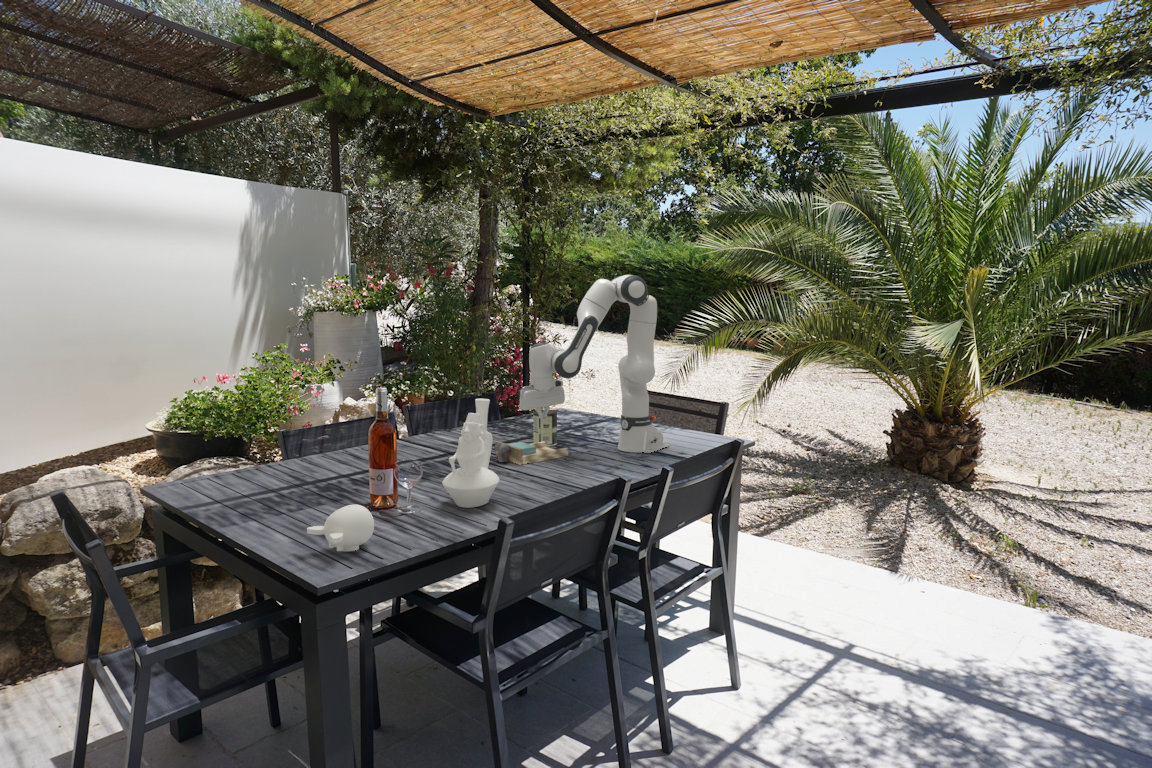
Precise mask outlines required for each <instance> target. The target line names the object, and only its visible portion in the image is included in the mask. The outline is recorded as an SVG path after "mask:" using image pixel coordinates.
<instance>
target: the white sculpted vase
mask: <svg viewBox="0 0 1152 768" xmlns="http://www.w3.org/2000/svg"><path fill="white" fill-rule="evenodd" d="M474 400H475V401H474V402H475V403H474V404H475V413H474V412H467V413H468V414H467V416H466V419H465V422H463V424H462V425H463V426H462V429H461V430H460V434H461V436H460V437H459V438H458V441H457V443H458V444H457V449H456V451H455V453H454V455H453V456H450V457H449V458H448V462H449V464H450V466H451V470H452V471H451V472H450V473H449V474H447V476H446V477H444V479H443V480H442V482H441V484H442V485H443V487H444V488H445V490H446V492H448V494H449V496H450V497H451V498H452V500H453V502H454V503H455V505H456V507H457V506H458V507H460V508H466V509H468V508H469V509H471V508H477V507H482V506H485V505H486V504H488V503H489V501H490V498H491V497H492V494H493V493H494V492H495V491H494V490H496V487H497V486H498V484H499V483H500V477H499V476H498V475H497V473H495V472H494V471H493V470H490V469H489V466H490V465H489V464H490V459H491V454H492V447H493V434H492V433H491V432H490V431H488V430H487V429H488V418H489V417H488V416H489V415H488V414H489V407H490V406H489V405H490V403H491V400H490V399H489V398H482V397H481V398H475V399H474ZM456 461H457V464H459V467H458V468H456V465H455V462H456Z"/></svg>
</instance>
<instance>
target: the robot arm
mask: <svg viewBox="0 0 1152 768" xmlns="http://www.w3.org/2000/svg"><path fill="white" fill-rule="evenodd" d="M615 302H620V303H625V304H626V303H627V304H628V306H629V309H630V311H629V312H630V313H629V320H628V325H627V334H626V343H627V354H625V355H624V356H623V357H621V358H620V359H619V362H618V363H617V365H618V366H617V367H618V372H619V382H620V389H621V415H620V433H619V434H620V435H619V440H618V444H617V449H618V450H619V451H622V452H627V453H642V452H644V453H647V454H651V452H652V453H655V452H658V451H661V450H663V449H662V448H664V449H666V448H665V447H667V448H669V447H670V444H669V443H666V442H665V441H664V435H663V432H662V431H661V430H660V429H658V427H656V426H655V425H654V424H653V423H652V421H654V422H656V420H657V416H656V415H650V414H649V413H650V410H649V409H650V395H649V391H648V387H647V384H648V383H650V382H652V381H653V379H654V377H655V374H656V368H655V355H654V353H655V352H654V343H655V336H656V335H655V334H656V326H657V318H658V301H657V299H656V297H654V296H653V295H650V292H649V290H648V285H647V282H646V281H645V280H644V279H643V278H642V277H641V276H639V275H633V274H625V275H617V276H616V277H614V278H613V279H611V280H609V279H608V278H607V279H606V278H599V279H597V280H596V281H594V282H593V283H592V285H591V286H590V288H589V289H588V290H587V292H586V293H585V294H584V297H583V298H582V300H581V302H580V304H579V305H578V308H577V311H576V318H577V322H578V327H577V330H576V333H575V334H574V336H573V338H572V340H571V342H570V344H569V346H568V348H567V349H564V348H563V349H562V348H560V347H557V346H555V345H552V344H551V343H549V342H547V341H543V342H537V343H534V344H532V346H530V348H529V353H528V356H529V357H528V362H529V363H528V364H529V369H530V375H529V381H530V382H529V383H530V384H529V385H525V386H522V388H521V389H520V391H519V404H518V405H519V409H521V410H522V411H530V410H535V411H537V412H538V414H539V418H540V419H542V418H547V413H548V411H549V410H550V407H551V406H558V405H562V404H564V403H565V399H566V394H565V389H564V387H563V386H564V381H563V380H559V379H557V378H553V374H557V375H559V376H560V377H561V378H564V379H571V378H574V377H576V376H577V375H578V374H579V373H580V371H581V369H582V364H583V363H582V362H583V358H584V354H585V352H586V350H587V348H588V347H589V345H590V343H591V341H592V339H593V337H594V335H595V333H596V331H597V330H598V328H599V327H600V325H601V323H602V322H603V320H604V318H605V317H606V315H607V314H608V312H609V310H610V309H611V307H612V305H613V304H614V303H615ZM541 410H544V412H543V413H542V412H541ZM668 446H669V447H668ZM660 449H661V450H660ZM657 450H658V451H657ZM654 451H655V452H654Z"/></svg>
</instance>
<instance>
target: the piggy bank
mask: <svg viewBox="0 0 1152 768" xmlns="http://www.w3.org/2000/svg"><path fill="white" fill-rule="evenodd" d="M374 531H375V521H374V517H373V515H372V512H370V510H369V509H368V508H367V507H366V506H364V505H361V504H348V505H345V506H342V507H341V508H338V509H336V510H335V511H333V512H332V513H331V514H330V515H329V516H328V517H327V518H326V519H325V522H324V525H313V526H309V527H307V528H306V534H309V535H313V536H319V535H320V536H321V535H324V537H325V539H326V541H327V542H328V548H329V549H334V548H336V552H355V550H356V551H358V550H359V549H360V545H363V544H365V543H366V542H367V541H369V540H370V538H371V537H372V535H373V534H374Z"/></svg>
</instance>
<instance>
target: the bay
mask: <svg viewBox="0 0 1152 768" xmlns="http://www.w3.org/2000/svg"><path fill="white" fill-rule="evenodd" d="M508 444H509V443H505V442H502V441H496V442H495V444H494V451H496V452H495V453H496V455H495V456H498V457H497V458H498V459H497V460H498V461H500V462H505V463H508V462H509V461H511V462H510V463H512V462H513V464H515V463H516V464H515V465H517V464H518V466H523V465H527V463H529V464H534V463H538V462H544V461H549V460H554V459H559V458H564V457H568V456H569V448H568V447H563V448H562V447H561V448H559V449H558V448H557V449H556V448H552V447H546V442H545V441H543V442H537V443H534V442H533V443H529V444H530V445H534V446H536V453H535V454H529V455H524V456H523V449H521V448H518V447H514V446H511V445H508ZM507 460H508V461H507ZM498 461H497V462H498ZM500 462H499V463H500ZM533 462H534V463H533ZM522 464H523V465H522Z"/></svg>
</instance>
